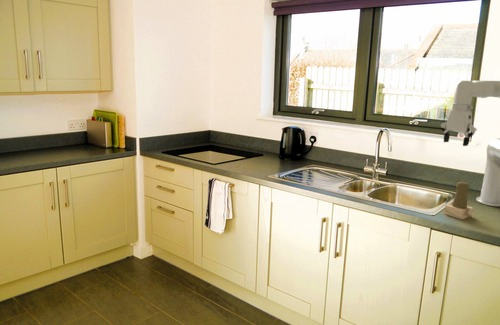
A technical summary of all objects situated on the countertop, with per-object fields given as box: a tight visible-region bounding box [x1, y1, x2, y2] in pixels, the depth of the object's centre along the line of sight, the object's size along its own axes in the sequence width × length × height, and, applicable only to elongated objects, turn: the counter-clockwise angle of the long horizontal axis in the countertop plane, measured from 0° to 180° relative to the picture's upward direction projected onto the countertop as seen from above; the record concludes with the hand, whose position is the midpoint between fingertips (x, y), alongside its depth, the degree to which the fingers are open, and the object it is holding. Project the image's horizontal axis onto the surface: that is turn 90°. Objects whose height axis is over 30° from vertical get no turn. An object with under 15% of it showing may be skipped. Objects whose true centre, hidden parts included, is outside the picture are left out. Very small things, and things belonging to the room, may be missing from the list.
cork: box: [451, 181, 471, 209], centre depth 184 cm, size 6×6×11 cm
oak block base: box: [443, 203, 474, 220], centre depth 186 cm, size 8×8×4 cm
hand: (455, 143), depth 200 cm, fingers open, 9 cm apart
